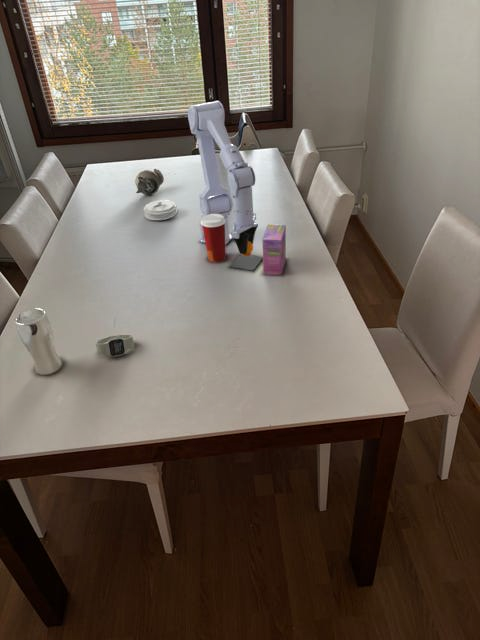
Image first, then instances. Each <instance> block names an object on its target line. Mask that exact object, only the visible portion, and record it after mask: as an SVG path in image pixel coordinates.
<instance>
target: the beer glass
mask: <svg viewBox="0 0 480 640" xmlns="http://www.w3.org/2000/svg"><path fill="white" fill-rule="evenodd" d="M14 322H15V325H16V329H17V332H18V335H19V338H20V340H21V342H22V344H23V345H24V347H25V349H26V350H27V352H28V353H29V354H30V356H31V358H32V359H33V362H34V368H35V372H36V373H37V374H38V375H41V376H48V375H51V374H54V373H56V372H58V371H59V370H60V369H61V368H62V365H63V362H62V360H61V358H60V357H59V355H58V353H57V349H56V344H55V336H54V332H53V328H52V325H51V322H50V320H49V318H48V315H47V313H46V311H45V310H44V309H43V308H40V307H32V308H28V309H25V310H22V311H21V312H19V313H18V314H16V316H15V317H14Z"/></svg>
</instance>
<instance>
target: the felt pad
mask: <svg viewBox="0 0 480 640" xmlns="http://www.w3.org/2000/svg"><path fill="white" fill-rule="evenodd" d="M262 261H263V256H257V255H252V254H251V255H249V256H243V255H242V254H241V253H239V255H238V256H237V257H236V259H234V261H233V262H232V263H231V264H230V266H229V269H236V270H243V271H250V272H254V271H255V270H256V268H257V267H258V266H259V265H260V263H261V262H262Z"/></svg>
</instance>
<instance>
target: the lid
mask: <svg viewBox="0 0 480 640" xmlns="http://www.w3.org/2000/svg"><path fill="white" fill-rule="evenodd" d="M143 212H144V218H145V219H147V220H150V221H163V220H168V219H171V218H173V217H175V216H177V214H178V210H177V204H176V203H175V202H173V201H172V200H170V199H169V200H168V199H158V200H154V201H150V202H148V203H147V204H146V205H145V206H144V207H143Z"/></svg>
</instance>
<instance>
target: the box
mask: <svg viewBox="0 0 480 640" xmlns="http://www.w3.org/2000/svg"><path fill="white" fill-rule="evenodd" d="M286 231H287V225H285V224H267V225H266V229H265V231H264V234H263V237H262V257H263V259H262V274H263V275H268V276H282V274H283V271H284V267H285V263H286V260H287V258H286V257H287V256H286V255H287V253H286V249H287V248H286V240H287V239H286V238H287V232H286Z"/></svg>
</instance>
